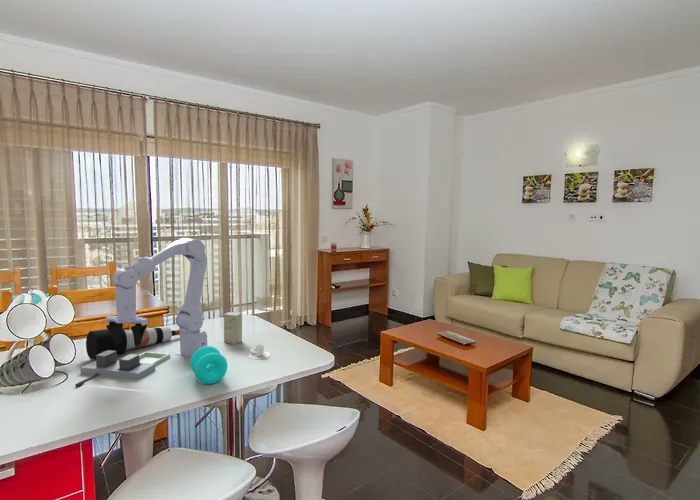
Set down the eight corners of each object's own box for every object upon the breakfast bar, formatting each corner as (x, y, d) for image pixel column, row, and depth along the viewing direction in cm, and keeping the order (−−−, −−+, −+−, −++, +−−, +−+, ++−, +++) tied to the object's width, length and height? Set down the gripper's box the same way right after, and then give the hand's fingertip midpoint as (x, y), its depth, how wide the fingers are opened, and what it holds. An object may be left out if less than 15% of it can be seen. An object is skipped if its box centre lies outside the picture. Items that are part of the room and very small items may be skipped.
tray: (170, 358, 148) (169, 353, 148) (151, 369, 138) (150, 364, 138) (145, 356, 150) (145, 351, 150) (125, 366, 140) (125, 361, 140)
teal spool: (220, 370, 138) (219, 342, 136) (228, 381, 129) (228, 351, 128) (189, 377, 132) (188, 348, 131) (196, 388, 124) (195, 357, 123)
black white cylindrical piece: (181, 349, 171) (189, 330, 168) (92, 365, 144) (99, 343, 141) (171, 334, 176) (178, 315, 173) (83, 347, 149) (90, 325, 146)
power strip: (155, 370, 137) (154, 352, 136) (119, 391, 121) (118, 371, 121) (100, 365, 141) (99, 347, 141) (59, 385, 126) (57, 365, 125)
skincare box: (223, 342, 166) (222, 314, 164) (230, 339, 170) (229, 311, 169) (236, 344, 164) (235, 315, 162) (242, 341, 168) (242, 312, 166)
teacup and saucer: (247, 353, 155) (247, 342, 155) (268, 350, 158) (268, 340, 157) (249, 361, 147) (249, 350, 147) (271, 358, 150) (271, 348, 149)
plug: (140, 371, 136) (139, 354, 136) (129, 377, 132) (128, 360, 131) (131, 370, 137) (130, 353, 137) (119, 376, 132) (118, 359, 132)
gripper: (97, 306, 132) (100, 346, 133) (136, 309, 129) (138, 349, 131) (114, 301, 139) (116, 339, 140) (151, 304, 136) (153, 342, 138)
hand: (128, 344), depth 136 cm, fingers open, 7 cm apart
